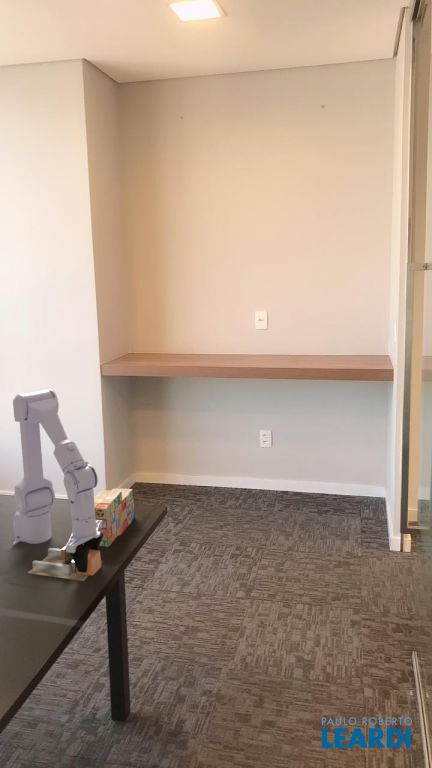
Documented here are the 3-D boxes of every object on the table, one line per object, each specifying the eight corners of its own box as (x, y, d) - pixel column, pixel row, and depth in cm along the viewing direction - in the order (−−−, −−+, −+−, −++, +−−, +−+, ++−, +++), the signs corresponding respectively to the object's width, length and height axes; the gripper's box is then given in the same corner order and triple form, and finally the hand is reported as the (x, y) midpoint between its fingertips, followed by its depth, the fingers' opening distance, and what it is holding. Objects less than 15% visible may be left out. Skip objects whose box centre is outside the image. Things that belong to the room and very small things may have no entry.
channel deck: (27, 576, 156) (26, 563, 155) (49, 557, 165) (48, 545, 165) (83, 584, 152) (82, 571, 151) (103, 564, 161) (102, 552, 160)
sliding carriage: (62, 570, 156) (60, 549, 154) (73, 560, 160) (71, 540, 159) (75, 572, 155) (73, 551, 153) (85, 562, 159) (83, 542, 158)
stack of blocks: (115, 516, 190) (112, 478, 188) (135, 518, 189) (132, 479, 186) (87, 549, 170) (83, 506, 167) (109, 551, 169) (105, 507, 166)
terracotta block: (76, 573, 155) (75, 556, 154) (85, 564, 159) (84, 548, 158) (92, 575, 154) (91, 558, 153) (101, 566, 158) (100, 550, 157)
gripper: (83, 529, 145) (87, 583, 148) (111, 505, 159) (115, 554, 162) (56, 526, 148) (61, 579, 150) (86, 502, 161) (90, 551, 164)
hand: (87, 566), depth 156 cm, fingers closed on terracotta block, 4 cm apart
